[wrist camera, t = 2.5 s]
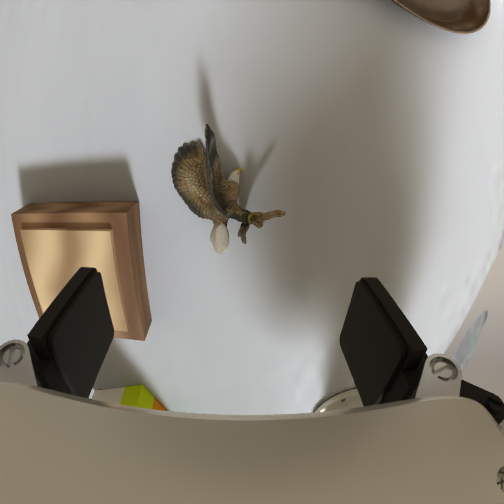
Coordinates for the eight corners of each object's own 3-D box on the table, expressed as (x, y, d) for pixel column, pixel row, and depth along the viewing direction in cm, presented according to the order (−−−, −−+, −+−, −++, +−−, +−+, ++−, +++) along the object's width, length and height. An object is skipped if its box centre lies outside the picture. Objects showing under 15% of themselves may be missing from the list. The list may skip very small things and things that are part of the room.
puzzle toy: (94, 390, 38) (76, 439, 29) (142, 383, 37) (128, 440, 28) (129, 423, 42) (118, 469, 33) (176, 419, 41) (169, 470, 32)
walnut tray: (138, 201, 26) (124, 214, 22) (151, 320, 32) (143, 343, 28) (29, 203, 25) (8, 215, 21) (54, 308, 31) (40, 327, 27)
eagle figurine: (295, 181, 25) (222, 105, 20) (278, 246, 21) (182, 159, 16) (235, 209, 30) (169, 151, 25) (212, 267, 26) (131, 205, 22)
